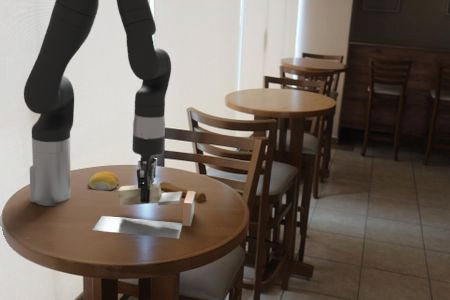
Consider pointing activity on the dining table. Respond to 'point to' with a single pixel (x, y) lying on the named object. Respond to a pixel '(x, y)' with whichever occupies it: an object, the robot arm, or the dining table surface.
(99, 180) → the bread roll
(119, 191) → the beige stepped block
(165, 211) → the dining table surface
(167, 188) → the primitive tool
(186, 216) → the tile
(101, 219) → the plate
